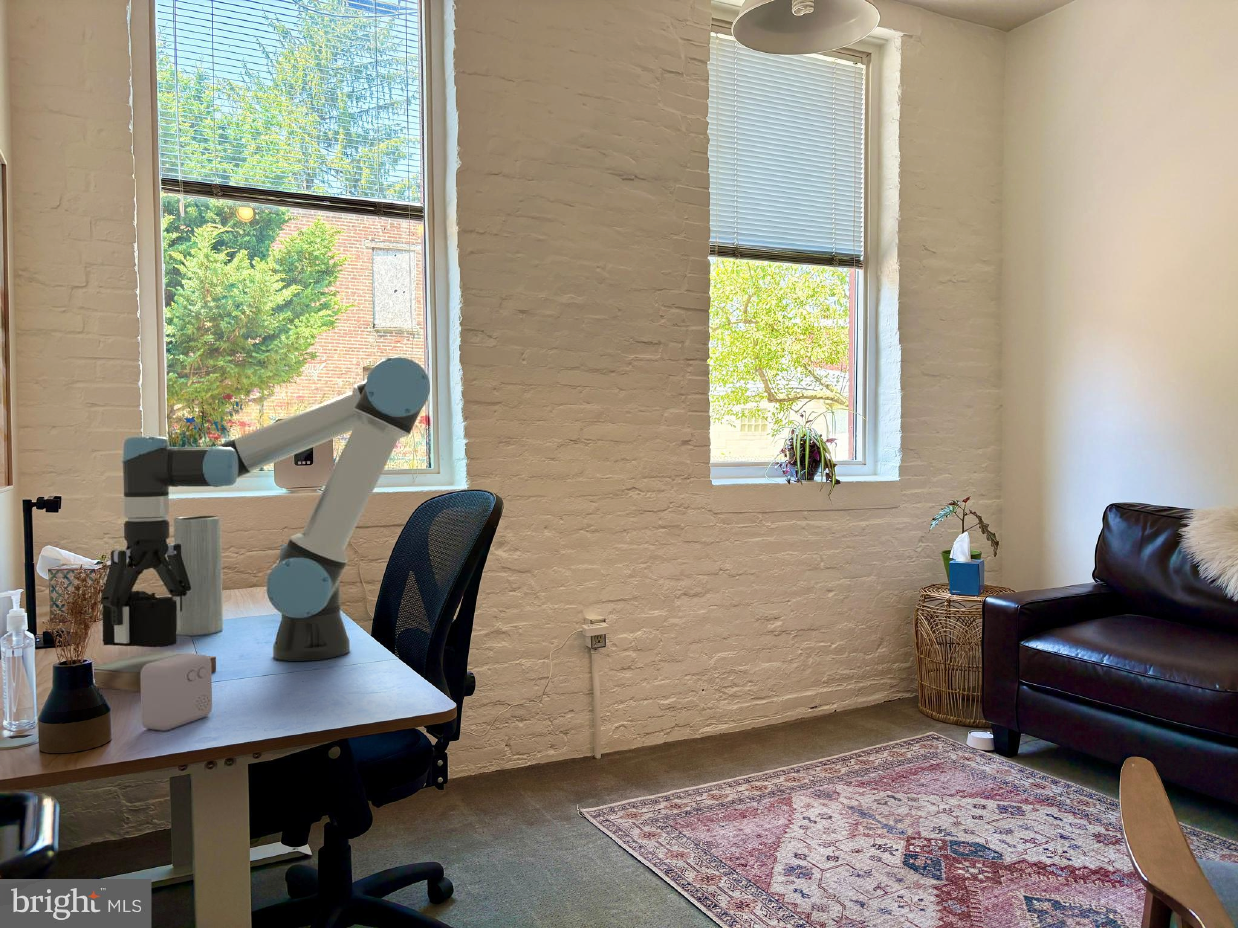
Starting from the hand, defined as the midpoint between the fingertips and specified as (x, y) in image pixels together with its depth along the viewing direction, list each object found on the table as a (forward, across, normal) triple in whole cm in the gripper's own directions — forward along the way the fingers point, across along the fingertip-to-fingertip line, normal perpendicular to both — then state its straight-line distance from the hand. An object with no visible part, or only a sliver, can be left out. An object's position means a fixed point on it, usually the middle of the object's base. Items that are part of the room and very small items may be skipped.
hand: (148, 636), depth 169 cm
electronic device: (+8, +20, +28) cm, 35 cm away
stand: (+8, 0, 0) cm, 8 cm away
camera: (+1, 0, 0) cm, 1 cm away
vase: (+8, -37, -25) cm, 45 cm away
